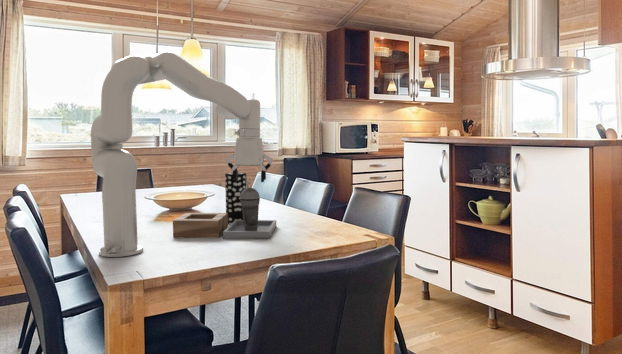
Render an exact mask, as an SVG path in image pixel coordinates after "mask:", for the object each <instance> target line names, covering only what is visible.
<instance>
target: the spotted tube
mask: <svg viewBox="0 0 622 354" xmlns="http://www.w3.org/2000/svg"><path fill="white" fill-rule="evenodd" d="M245 176H247V172H238V181H236V182H234V179H233V172H226V173H225V174H224V178H225V180H224V181H225V182H224V183H225V213H228V225H229V226H230V225H231V224H232V223H233V222H234V221H235V220H243V213H242V205H241V201H240V196H241V193H242V191H243V190H244V189H246V188H247V183H246V177H245Z"/></svg>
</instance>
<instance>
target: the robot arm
mask: <svg viewBox="0 0 622 354" xmlns="http://www.w3.org/2000/svg"><path fill="white" fill-rule="evenodd" d="M163 80H166V81H168V82H169V83H171V84H172V85H174V86H175V87H177V88H178V89H180V90H181V91H182V92H185V94H188V96H190V97H192V98H195V99H199V100H202V101H203V100H204V101H208V102H210V103H213V104H215V112H216V114H217V115H218V116H219V117H220V118H221V119H223V120H236V119H237V120H238V129H237V130H235V131H234V134H235V135H236V136H238V137H236V140H235V144H234V146H235V148H234V153H232V154H231V155H229V156H227V157H226V158H225V160H224V161H225V162H226V164H227V166H228V167H229V168H230V169H231V170H232V173H233V179H234V182H236V181H238V173H239V170H238V168H239V167H241V166H243V167H244V166H245V167H260V169H261V171H260V182H261V183H264V182H265V181H266V179H267V177H266V176H267V170H268V169H269V168H270V167H271V165H272V164H273V162H274V158H273V157H271V156H269V155H267V154H265V153H264V143H263V138H262V137H261V102H260V100H259V99H255V98H247V97H245V96H244V95H243V94H242V93H240V92H239V91H237V90H236V89H235V88H233V87H232V86H230V85H228V84H227V83H224V82H222V81H219V80H218V79H216V78H214V77H211V76H210V75H209V76H208V75H206V73H203V72H202V71H201V70H199V69H198V68H196V67H195V66H193V65H192V64H191V63H189V62H188V61H187V60H185V59H184V58H182V57H181V56H180V55H178V54H177V53H175V52H173V51H169V50H167V51H161V52H158V53H155V54H151V55H146V56H142V55H138V54H134V55H133V54H132V55H128V56H125V57H124V58H120V59H117V60H116V61H115V62H114V63H113V64H112V66H111V68H110V70H109V71H108V73H107V75H106V76H105V78H104V80H103V82H102V87H101V95H100V96H101V99H100V115H98V116H96V118H94V120H93V122H92V123H91V128H90V149H91V163H92V164H91V165H92V169H93V171H94V172H95V174H97V175H98V176H99V177H101V178H102V188H101V200H102V201H101V202H102V222H103V224H102V225H103V243H104V245H103V246H102V247H101V248H100V249H99V250H98V254H99V256H101V257H105V258H120V257H121V258H123V257H130V256H134V255H135V256H136V255H138V254H141V253H142V252H143V251H144V246H143V245H140V244H139V242H138V217H137V216H138V215H137V194H136V192H137V191H136V190H137V189H136V187H137V177H138V175H137V174H138V163H137V161H136V159H135V157H134V155H133V154H132V153H131V152H130V151H128V150H125V149H123V146H124V145H123V144H125V143H127V142H128V141H129V140H130V139H131V138H132V135H133V111H132V106H133V105H132V103H133V96H134V95H133V93H134V91H135V89H136V88H137V86H138V85H143V84H149V83H155V82H158V81H163ZM233 159H234V160H233ZM231 160H233V162H234V164H233V163H232V162H231ZM265 160H267V164H266V165H264V162H265Z"/></svg>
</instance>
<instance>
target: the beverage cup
mask: <svg viewBox="0 0 622 354" xmlns="http://www.w3.org/2000/svg"><path fill="white" fill-rule="evenodd" d="M245 177H246V189H244V190H243V191H242V193H241V196H240V201H241V205H242V213H243V221H244V227H245V231H257V227H258V220H259V209H260V207H259V206H260V203H261V202H260V201H261V200H260V199H261V197H260V194H259V192H258V190H257V189H255V188H253V187H249V183H248V181H249V180H248V176H247V175H246V176H245Z"/></svg>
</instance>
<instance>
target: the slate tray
mask: <svg viewBox="0 0 622 354" xmlns="http://www.w3.org/2000/svg"><path fill="white" fill-rule="evenodd" d="M276 229H277V219H276V220H274V219H273V220H272V219H269V220H266V219H265V220H263V219H261V220H260V219H258V227H257V231H245V227H244V221H243V220H235V221H234V222H233V223H232V224H231V225H230V224H229V225H228V227H227V228H226V229H225V230H224V231H223V234H222V239H223V240H271V237H272V236H273V233H274V232H275V230H276Z"/></svg>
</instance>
